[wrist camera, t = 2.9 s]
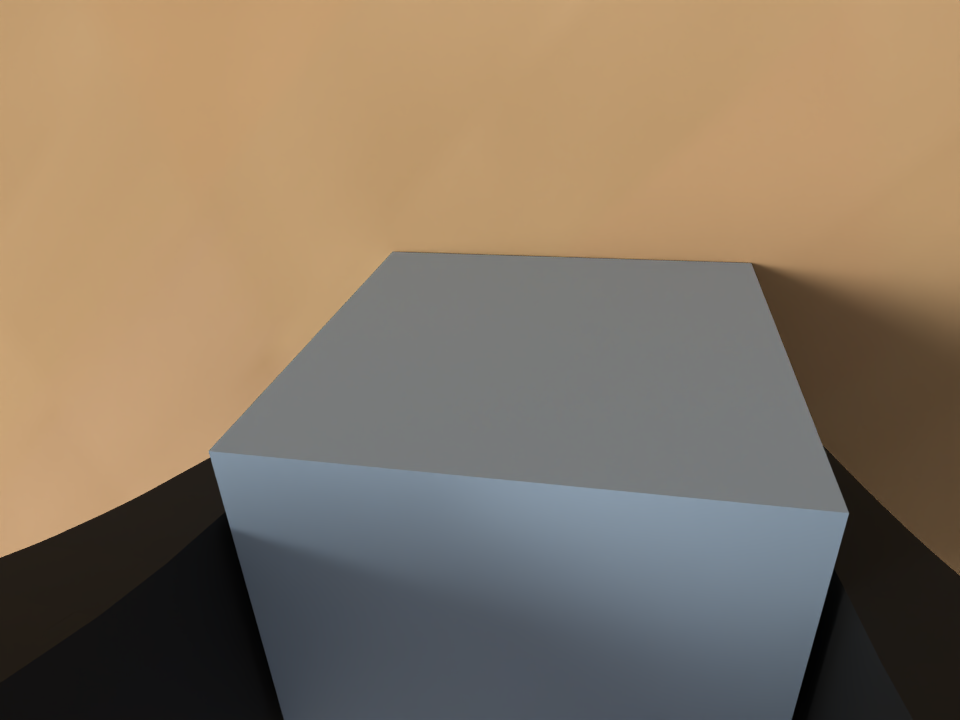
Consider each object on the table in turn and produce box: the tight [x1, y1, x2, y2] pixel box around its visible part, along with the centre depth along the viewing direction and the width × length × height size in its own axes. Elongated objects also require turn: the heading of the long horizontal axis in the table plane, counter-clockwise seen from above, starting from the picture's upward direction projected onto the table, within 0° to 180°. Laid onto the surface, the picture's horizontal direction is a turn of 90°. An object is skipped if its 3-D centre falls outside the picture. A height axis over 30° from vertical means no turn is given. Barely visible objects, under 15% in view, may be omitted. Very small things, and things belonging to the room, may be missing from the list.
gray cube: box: [209, 252, 849, 720], centre depth 9 cm, size 5×5×5 cm
